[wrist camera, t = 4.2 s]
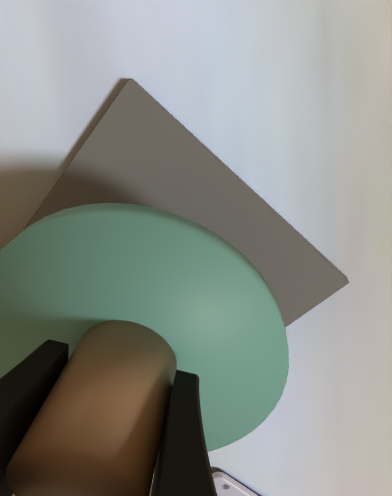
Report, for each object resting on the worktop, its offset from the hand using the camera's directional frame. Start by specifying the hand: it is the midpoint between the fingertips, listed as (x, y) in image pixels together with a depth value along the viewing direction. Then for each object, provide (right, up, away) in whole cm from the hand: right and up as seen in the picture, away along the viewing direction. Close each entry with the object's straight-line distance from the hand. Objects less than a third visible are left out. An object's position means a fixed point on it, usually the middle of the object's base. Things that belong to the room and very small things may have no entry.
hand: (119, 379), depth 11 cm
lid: (0, +1, +1) cm, 2 cm away
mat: (+1, +3, +5) cm, 6 cm away
